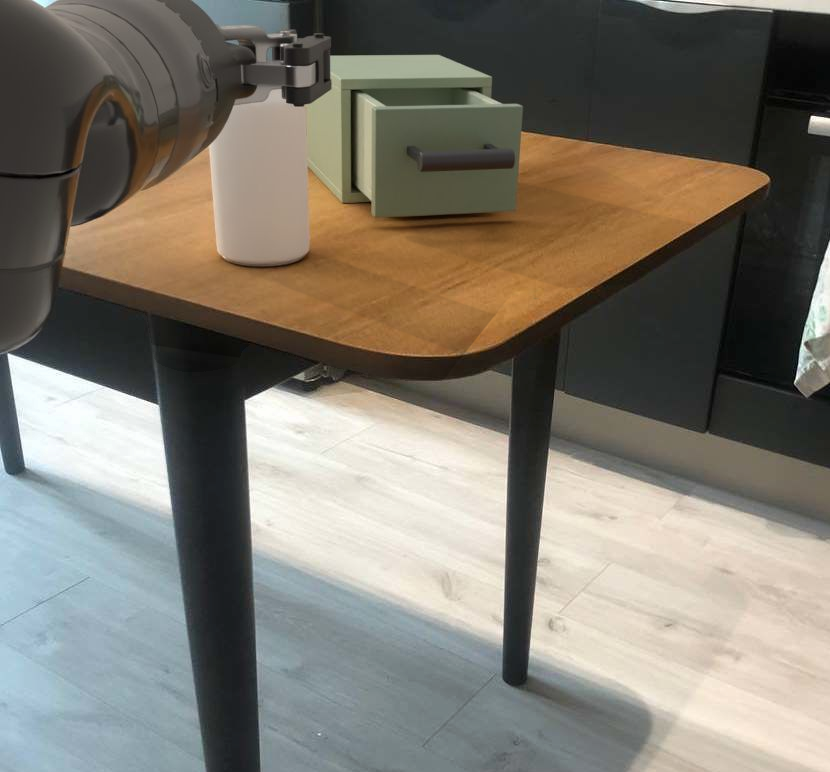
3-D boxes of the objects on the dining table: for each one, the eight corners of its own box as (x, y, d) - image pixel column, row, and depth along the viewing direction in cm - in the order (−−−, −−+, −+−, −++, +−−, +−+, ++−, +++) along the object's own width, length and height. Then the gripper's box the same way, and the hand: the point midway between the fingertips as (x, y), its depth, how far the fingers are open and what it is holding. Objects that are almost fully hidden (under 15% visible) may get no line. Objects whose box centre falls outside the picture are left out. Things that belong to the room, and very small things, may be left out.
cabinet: (485, 197, 93) (492, 76, 88) (341, 203, 89) (340, 78, 85) (435, 162, 105) (439, 54, 100) (307, 166, 102) (304, 55, 97)
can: (239, 238, 79) (228, 61, 73) (323, 246, 78) (318, 67, 72) (201, 263, 74) (186, 74, 68) (290, 272, 72) (282, 80, 66)
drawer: (538, 226, 81) (547, 116, 77) (391, 234, 78) (392, 120, 74) (462, 174, 96) (466, 80, 92) (336, 179, 93) (335, 82, 89)
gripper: (-29, 175, 47) (93, 115, 61) (296, 188, 46) (344, 125, 60) (-62, -18, 43) (76, -34, 57) (291, -6, 43) (343, -25, 57)
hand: (213, 48), depth 59 cm, fingers open, 8 cm apart
